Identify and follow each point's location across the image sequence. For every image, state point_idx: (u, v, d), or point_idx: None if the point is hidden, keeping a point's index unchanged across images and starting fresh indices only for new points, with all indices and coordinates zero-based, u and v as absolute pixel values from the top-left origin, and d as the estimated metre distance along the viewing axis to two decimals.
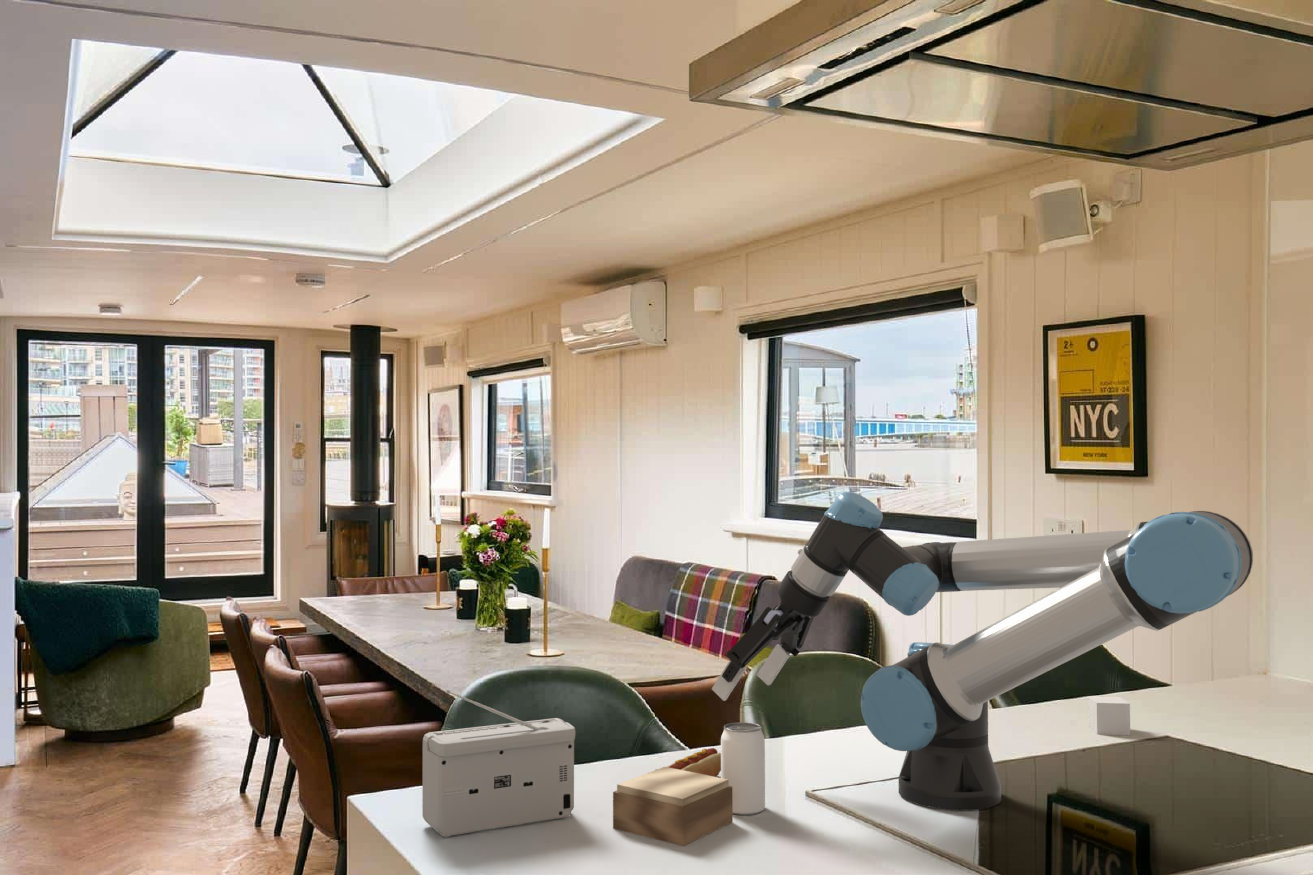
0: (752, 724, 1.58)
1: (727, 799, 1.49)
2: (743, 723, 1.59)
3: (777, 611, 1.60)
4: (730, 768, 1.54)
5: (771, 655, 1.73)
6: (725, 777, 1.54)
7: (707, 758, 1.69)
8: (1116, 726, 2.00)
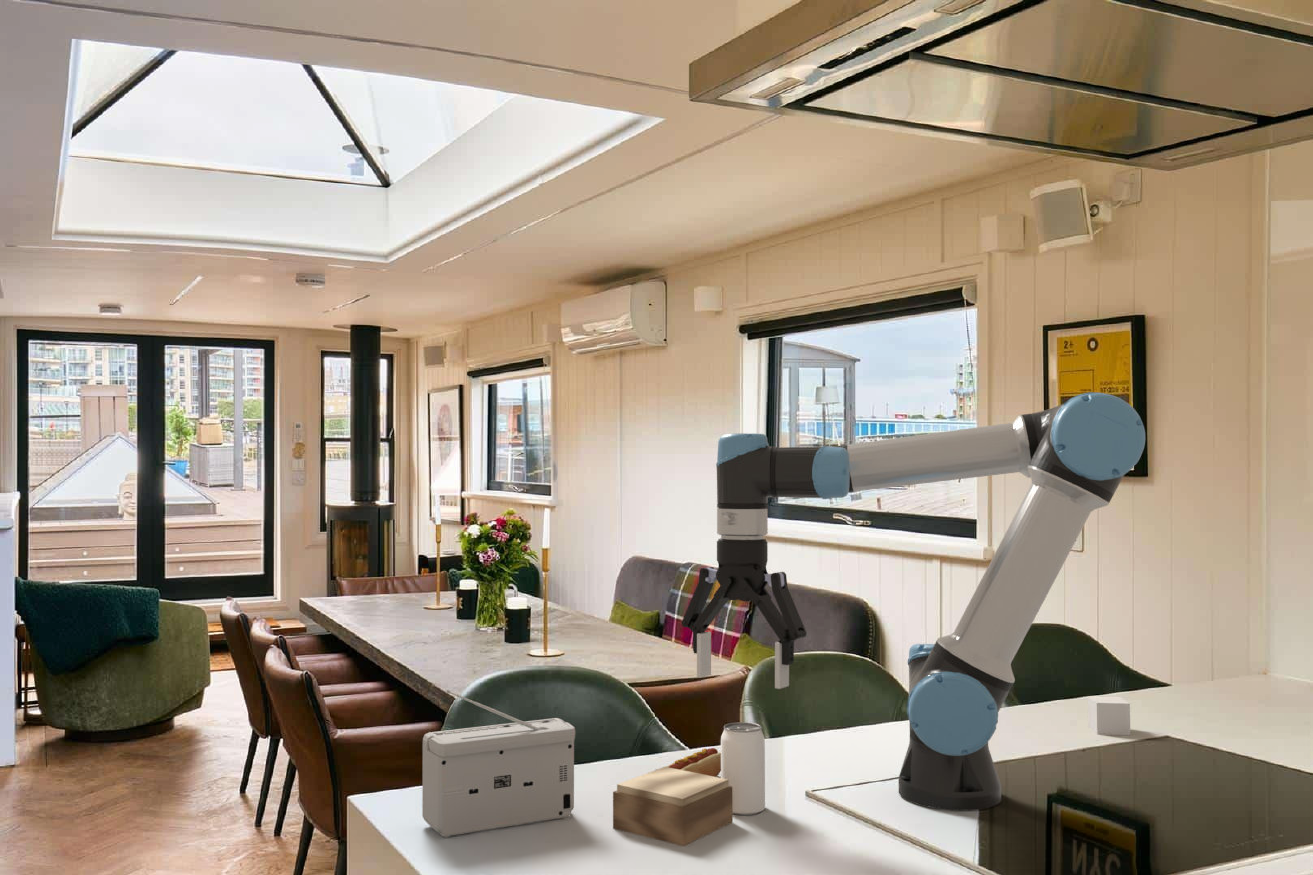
0: (752, 724, 1.58)
1: (727, 799, 1.49)
2: (743, 723, 1.59)
3: (768, 574, 1.54)
4: (730, 768, 1.54)
5: (702, 647, 1.60)
6: (725, 777, 1.54)
7: (707, 758, 1.69)
8: (1116, 726, 2.00)
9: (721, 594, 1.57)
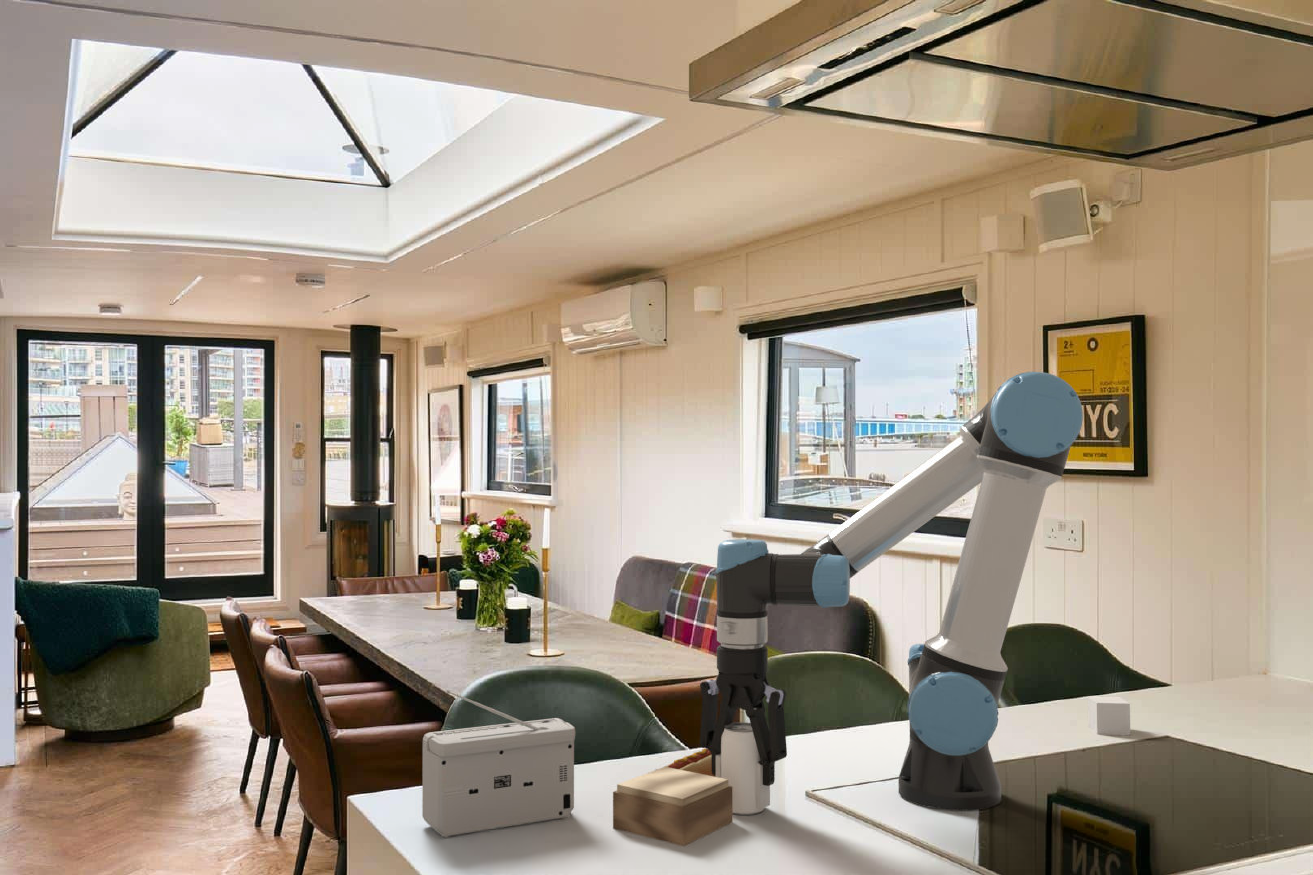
0: None
1: (727, 799, 1.49)
2: (743, 723, 1.59)
3: (769, 687, 1.54)
4: (730, 768, 1.54)
5: None
6: (725, 777, 1.54)
7: (707, 758, 1.69)
8: (1116, 726, 2.00)
9: (726, 704, 1.56)
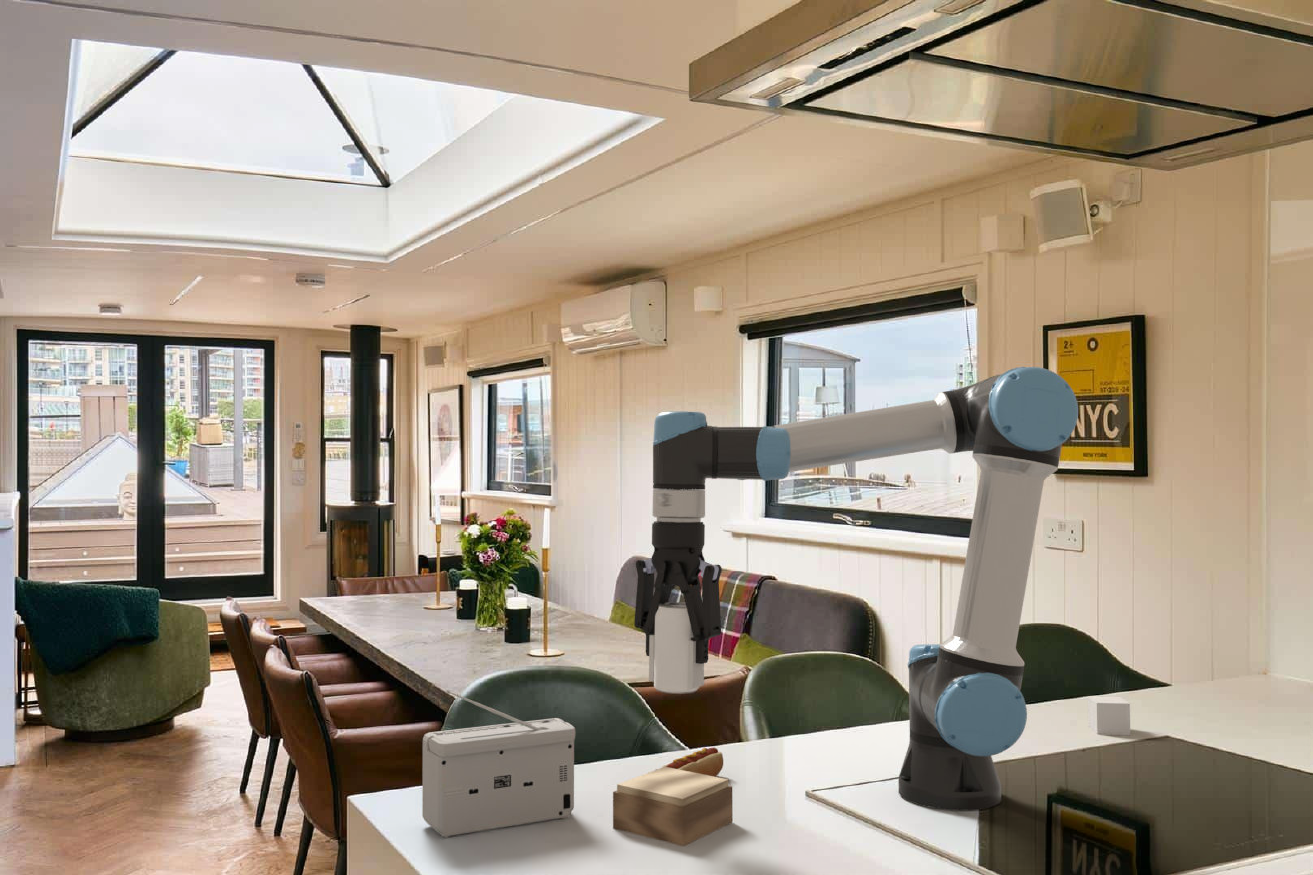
0: None
1: (727, 799, 1.49)
2: (680, 603, 1.53)
3: (704, 562, 1.48)
4: (662, 645, 1.48)
5: None
6: (657, 655, 1.49)
7: (706, 757, 1.69)
8: (1116, 726, 2.00)
9: (661, 581, 1.51)
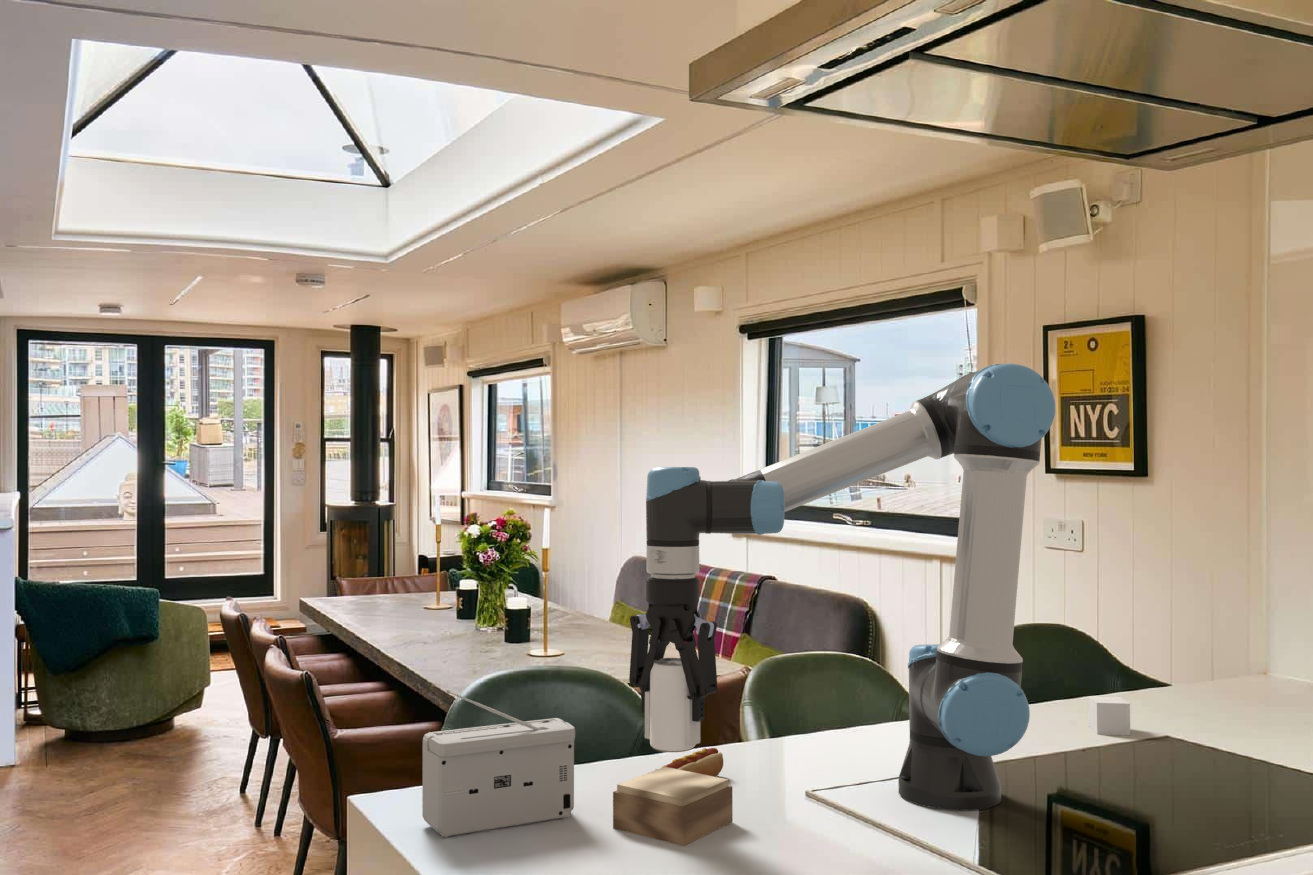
0: None
1: (727, 799, 1.49)
2: (675, 658, 1.52)
3: (699, 619, 1.47)
4: (658, 703, 1.47)
5: None
6: (653, 713, 1.48)
7: (706, 758, 1.69)
8: (1116, 726, 2.00)
9: (655, 638, 1.49)
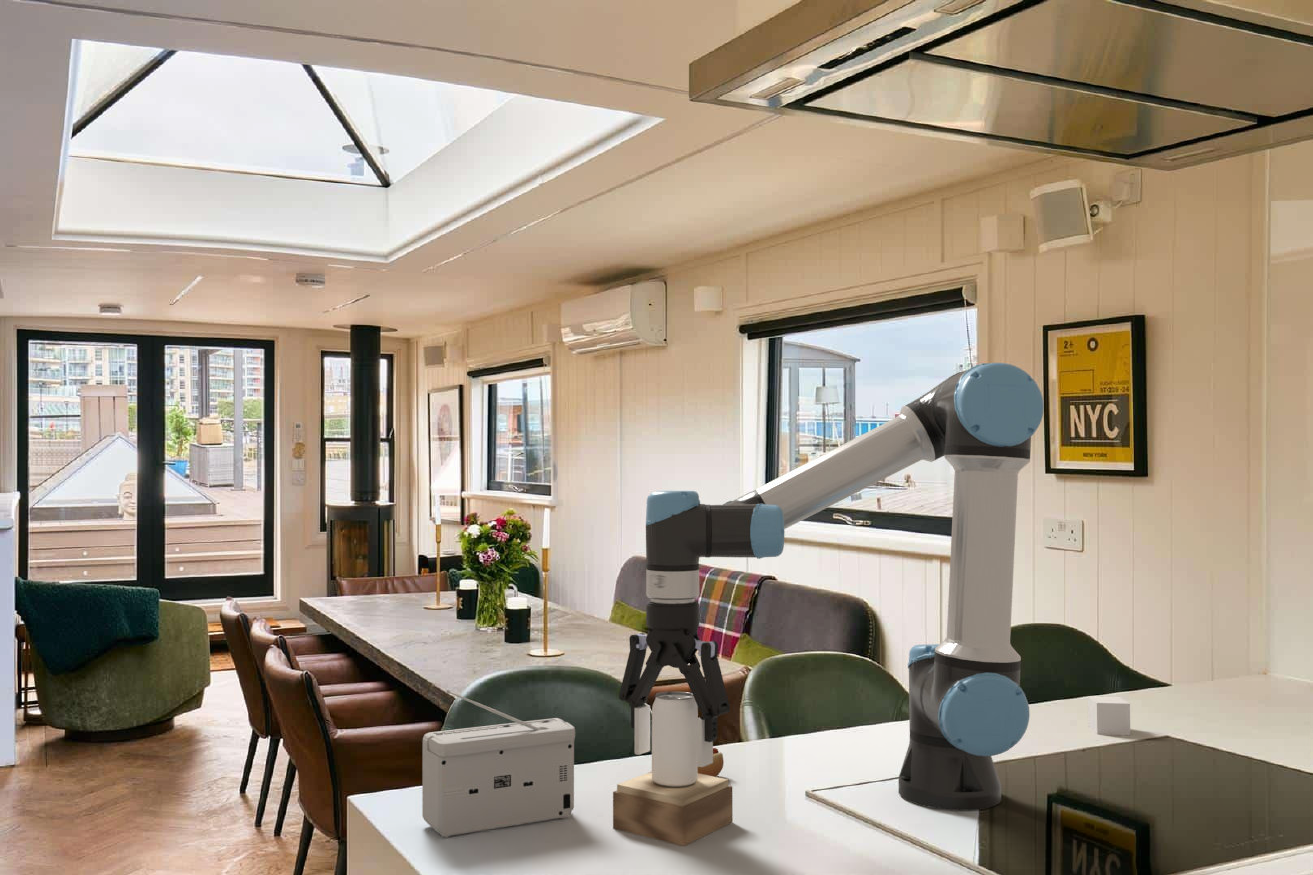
0: (686, 693, 1.52)
1: (727, 799, 1.49)
2: (677, 692, 1.52)
3: (699, 641, 1.47)
4: (660, 738, 1.47)
5: (640, 722, 1.51)
6: (655, 747, 1.47)
7: None
8: (1116, 726, 2.00)
9: (653, 661, 1.50)
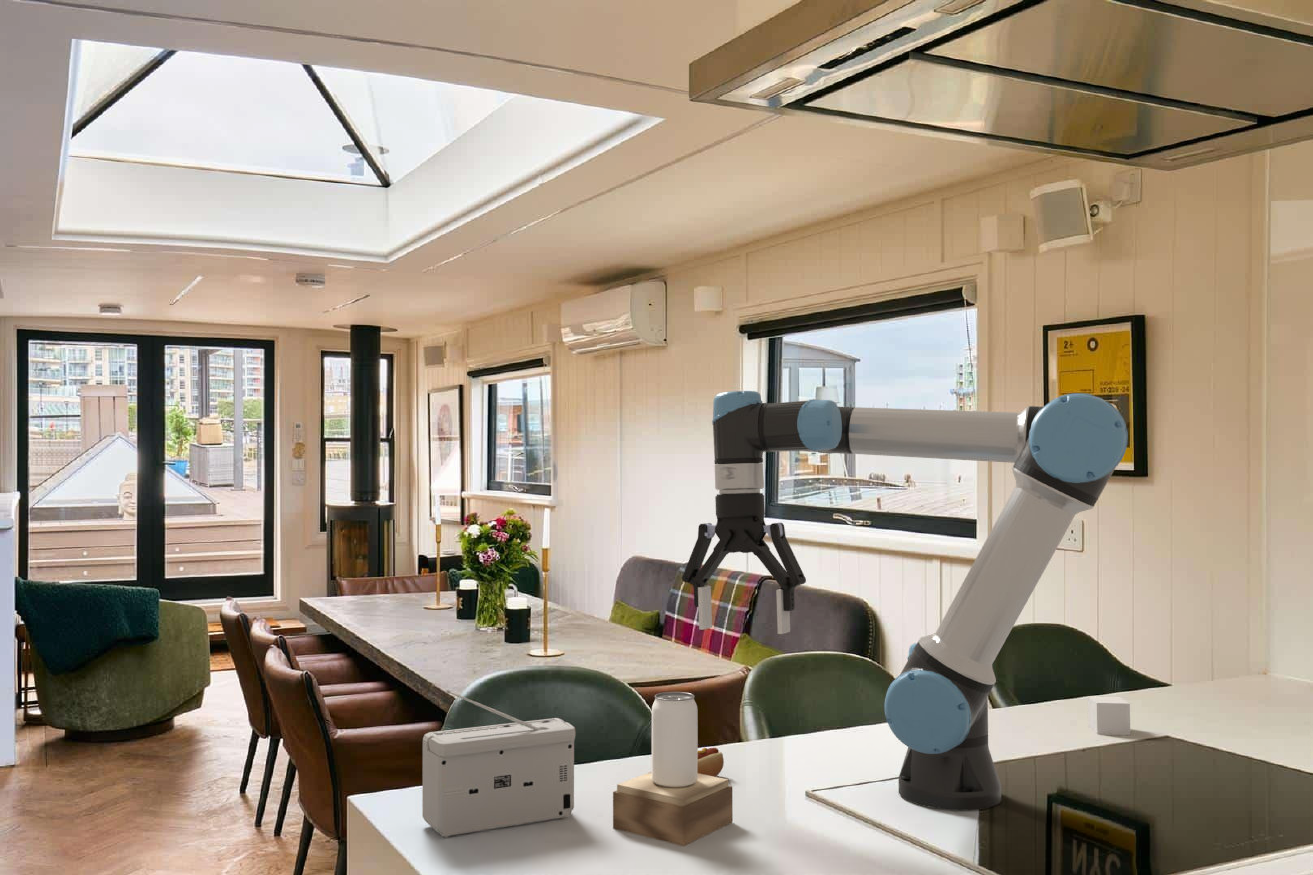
0: (686, 694, 1.51)
1: (727, 799, 1.49)
2: (676, 693, 1.52)
3: (766, 525, 1.61)
4: (659, 739, 1.47)
5: (703, 600, 1.65)
6: (655, 748, 1.47)
7: (706, 757, 1.70)
8: (1116, 726, 2.00)
9: (721, 547, 1.63)
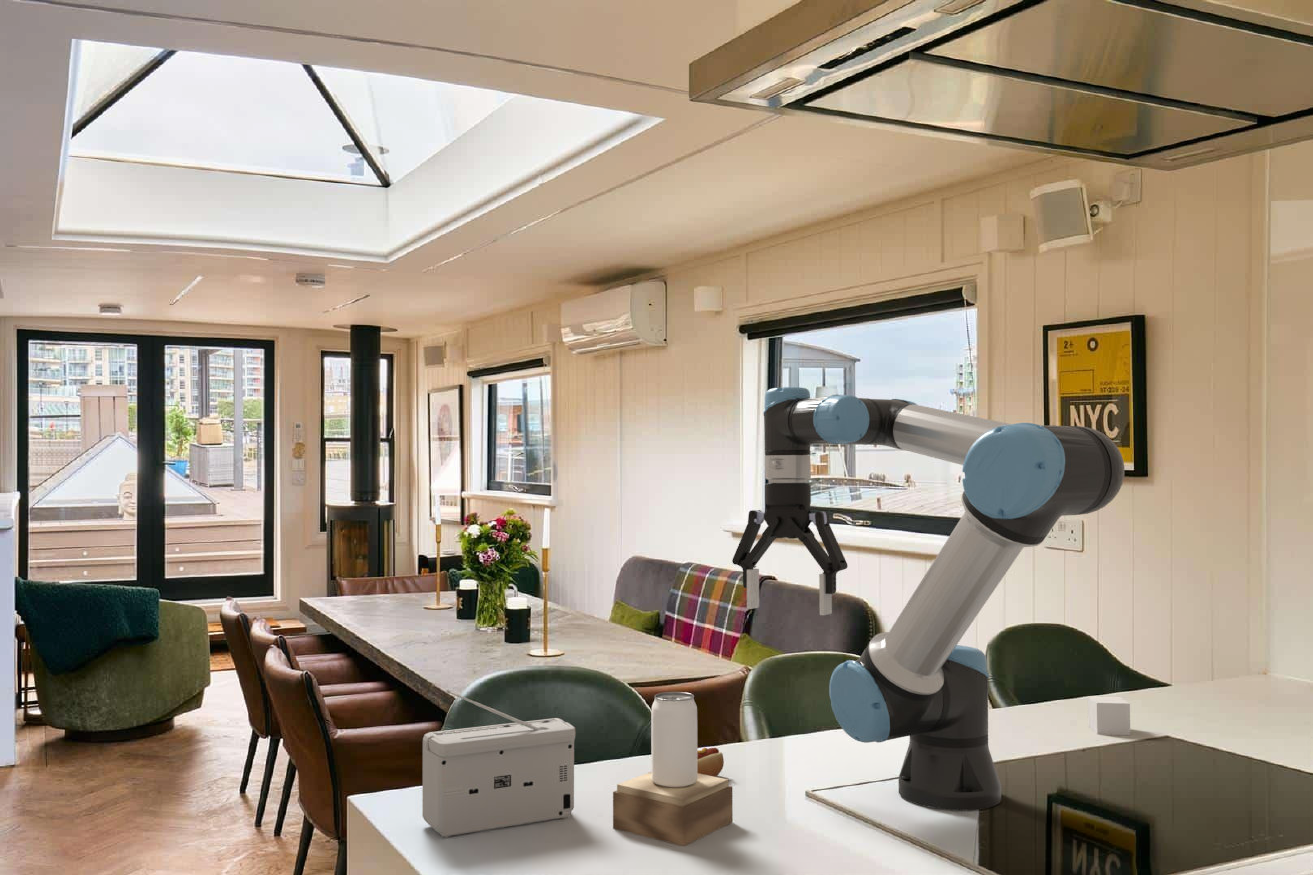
0: (685, 694, 1.51)
1: (727, 799, 1.49)
2: (676, 693, 1.52)
3: (812, 513, 1.72)
4: (659, 739, 1.47)
5: (751, 581, 1.77)
6: (655, 748, 1.47)
7: (705, 757, 1.70)
8: (1116, 726, 2.00)
9: (769, 533, 1.75)
